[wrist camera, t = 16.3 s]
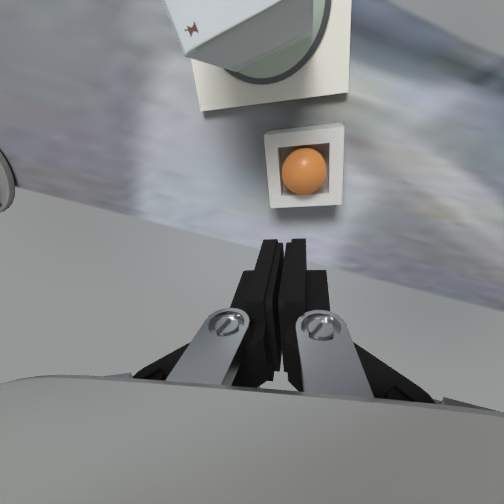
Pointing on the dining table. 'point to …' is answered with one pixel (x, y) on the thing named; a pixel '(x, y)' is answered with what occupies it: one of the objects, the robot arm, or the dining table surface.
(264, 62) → the picture board
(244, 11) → the supplement box
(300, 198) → the button housing
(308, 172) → the button
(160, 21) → the dining table surface
